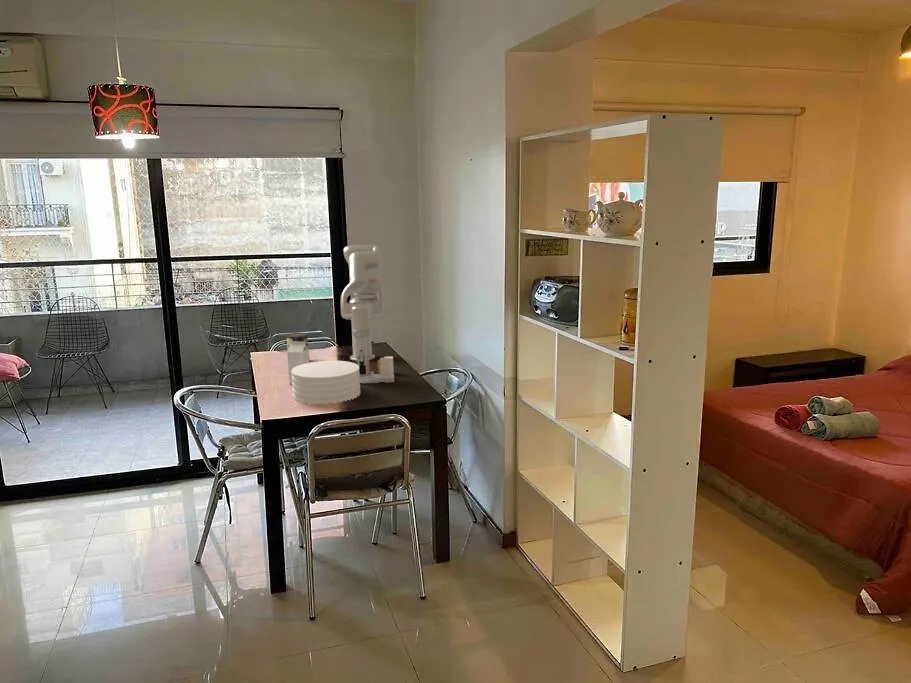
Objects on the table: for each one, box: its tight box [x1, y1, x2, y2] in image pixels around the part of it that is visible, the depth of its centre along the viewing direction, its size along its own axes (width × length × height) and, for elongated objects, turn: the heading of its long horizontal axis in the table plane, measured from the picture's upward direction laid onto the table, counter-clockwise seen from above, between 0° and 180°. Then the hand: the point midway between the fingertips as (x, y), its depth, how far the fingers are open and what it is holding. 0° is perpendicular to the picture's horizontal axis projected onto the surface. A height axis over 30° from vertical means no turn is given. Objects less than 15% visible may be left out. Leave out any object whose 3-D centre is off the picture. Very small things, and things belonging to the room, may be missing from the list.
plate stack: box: [291, 360, 361, 405], centre depth 287 cm, size 28×28×12 cm
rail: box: [359, 357, 395, 384], centre depth 307 cm, size 8×24×10 cm, turn 96°
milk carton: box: [287, 341, 310, 385], centre depth 304 cm, size 7×7×19 cm
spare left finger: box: [383, 356, 395, 374], centre depth 319 cm, size 4×5×8 cm
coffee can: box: [286, 332, 309, 350], centre depth 343 cm, size 10×10×14 cm
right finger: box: [356, 357, 370, 376], centre depth 307 cm, size 4×5×8 cm
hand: (362, 372), depth 307 cm, fingers closed on right finger, 4 cm apart
